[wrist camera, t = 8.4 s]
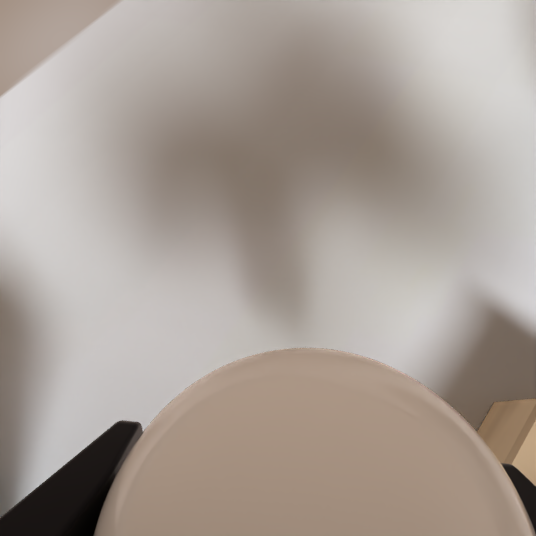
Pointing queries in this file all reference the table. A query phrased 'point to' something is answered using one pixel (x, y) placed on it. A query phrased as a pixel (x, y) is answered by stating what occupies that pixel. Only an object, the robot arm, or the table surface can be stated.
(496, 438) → the kraft carton
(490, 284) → the table surface
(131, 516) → the lightbulb
